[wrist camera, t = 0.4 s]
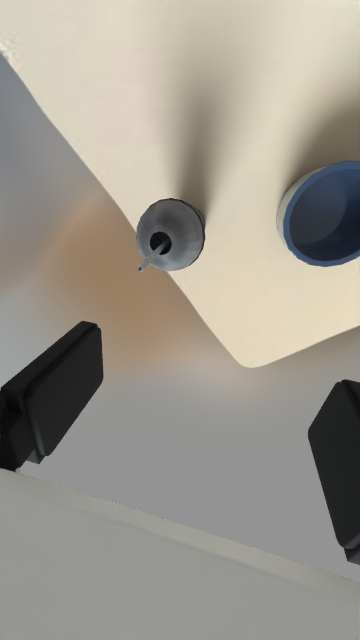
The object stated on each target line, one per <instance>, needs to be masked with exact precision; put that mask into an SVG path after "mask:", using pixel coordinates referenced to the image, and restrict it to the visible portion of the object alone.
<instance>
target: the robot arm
mask: <svg viewBox="0 0 360 640" xmlns="http://www.w3.org/2000/svg"><path fill="white" fill-rule="evenodd" d="M102 381H103V359H102V340H101V329H100V328H98V326H97V324H95V323H91V322H86V321H81V322H80V323H79V324H77V325H76V326H75V327H74V328H72V329H71V330H70V331H69V332H68V333H66V334H65V335H64V336H63V337H61V338H60V339H59V340H58V341H57V342H55V343H54V344H53V345H52V346H51V347H49V348H48V349H47V350H46V351H45V352H43V353H42V354H41V355H40V356H38V357H37V358H36V359H35V360H34V361H32V362H31V363H30V364H29V365H28V366H27V367H25V368H24V369H23V370H21V371H20V372H19V373H18V374H17V375H15V376H14V377H13V378H12V379H11V380H9V381H8V382H7V383H6V384H5V385H3V386H2V387H1V390H0V640H360V583H359V582H356V581H353V580H350V579H347V578H344V577H341V576H338V575H335V574H332V573H329V572H326V571H323V570H320V569H317V568H314V567H311V566H308V565H305V564H302V563H299V562H296V561H293V560H290V559H287V558H284V557H281V556H278V555H274V554H271V553H268V552H265V551H262V550H259V549H256V548H253V547H250V546H247V545H244V544H241V543H238V542H234V541H231V540H228V539H225V538H222V537H219V536H216V535H213V534H210V533H207V532H204V531H201V530H198V529H195V528H191V527H188V526H185V525H182V524H179V523H176V522H173V521H170V520H166V519H164V518H160V517H157V516H154V515H151V514H148V513H145V512H142V511H139V510H136V509H132V508H129V507H126V506H123V505H120V504H117V503H113V502H110V501H107V500H104V499H101V498H97V497H95V496H91V495H88V494H85V493H82V492H79V491H76V490H72V489H69V488H66V487H63V486H60V485H56V484H53V483H50V482H47V481H43V480H40V479H36V478H33V477H30V476H26V475H23V474H20V467H21V466H22V465H23V463H24V462H25V461H26V460H27V461H30V462H33V463H37V464H40V462H41V461H42V460H43V458H44V457H45V456H49V455H50V454H51V453H52V452H53V451H54V449H55V448H56V446H57V445H58V444H59V442H60V441H61V439H62V438H63V437H64V435H65V433H66V432H67V431H68V429H69V428H70V427H71V425H72V424H73V423H74V421H75V420H76V418H77V417H78V416H79V414H80V413H81V411H82V410H83V409H84V407H85V406H86V404H87V403H88V401H89V400H90V399H91V397H92V396H93V395H94V393H95V392H96V390H97V389H98V388H99V386H100V384H101V383H102ZM308 439H309V442H310V446H311V449H312V453H313V457H314V460H315V463H316V467H317V471H318V474H319V478H320V481H321V485H322V488H323V492H324V496H325V499H326V503H327V506H328V510H329V513H330V517H331V520H332V524H333V527H334V531H335V535H336V538H337V541H338V543H339V544H340V545H341V546H342V547H344V551H345V554H346V558H347V561H349V562H352V563H355V564H358V565H360V383H359V382H355V381H351V380H342V381H341V382H337V383H336V384H335V385H334V387H333V389H332V390H331V392H330V394H329V395H328V397H327V399H326V401H325V402H324V404H323V406H322V407H321V409H320V411H319V412H318V414H317V416H316V417H315V419H314V421H313V422H312V424H311V426H310V427H309V430H308Z"/></svg>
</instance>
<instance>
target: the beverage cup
mask: <svg viewBox="0 0 360 640" xmlns="http://www.w3.org/2000/svg"><path fill="white" fill-rule="evenodd" d="M204 230H205V219H204V216H203V214H202V213H201V212H200V211H199V210H198V209H196V208H194V207H192V206H190V205H189V204H187V203H185V202H184V201H182V200H178V199H172V198H169V199H163V200H159V201H157V202H156V203H154V204H152V205H151V206H150V207H149V208H148V209H147V210H146V212H145V213H144V214H143V215H142V216H141V218H140V221H139V223H138V226H137V235H136V240H137V244H138V248H139V250H140V252H141V254H142V256H143V258H144V259H145V260H144V261H143V262H142V263H141V264H140V265H139V266H138V267H137V270H138V271H139V272H142V271H143V270H144V269H145V268H146V267H147V266H148V265H149V264H150V265H152V266H154V267H156V268H158V269H161V270H166V271H175V270H180V269H183V268H185V267H187V266H190V265H191V264H192V263H193V262H194V261H195V260H196V259H198V257H199V255H200V253H201V252H202V250H203V246H204V241H205V231H204Z"/></svg>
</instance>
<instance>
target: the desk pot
mask: <svg viewBox="0 0 360 640" xmlns="http://www.w3.org/2000/svg"><path fill="white" fill-rule="evenodd" d="M276 224H277V230H278V234H279V236H280V238H281V240H282V242H283V243H284V244H285V245H286V247H287V248H288V249H289V250H290V251H291V252H292V253H293V254H294V255H295V256H296V257H297V258H298V259H299V260H301V261H303V262H305V263H307V264H309V265H314V266H322V267H328V266H335V265H341V264H344V263H346V262H349V261H351V260H353V259H356V258H357V257H359V256H360V161H344V162H340V163H336V164H332V165H328V166H325V167H321V168H318V169H315V170H313V171H311V172H309V173H307V174H305V175H304V176H302V177H301V178H299V179H298V180H297V181H296V182H295V183H294V184H293V185H292V186H291V187H290V188H289V189H288V190H287V192H286V193H285V195H284V196H283V198H282V200H281V202H280V205H279V208H278V211H277V218H276Z"/></svg>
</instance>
